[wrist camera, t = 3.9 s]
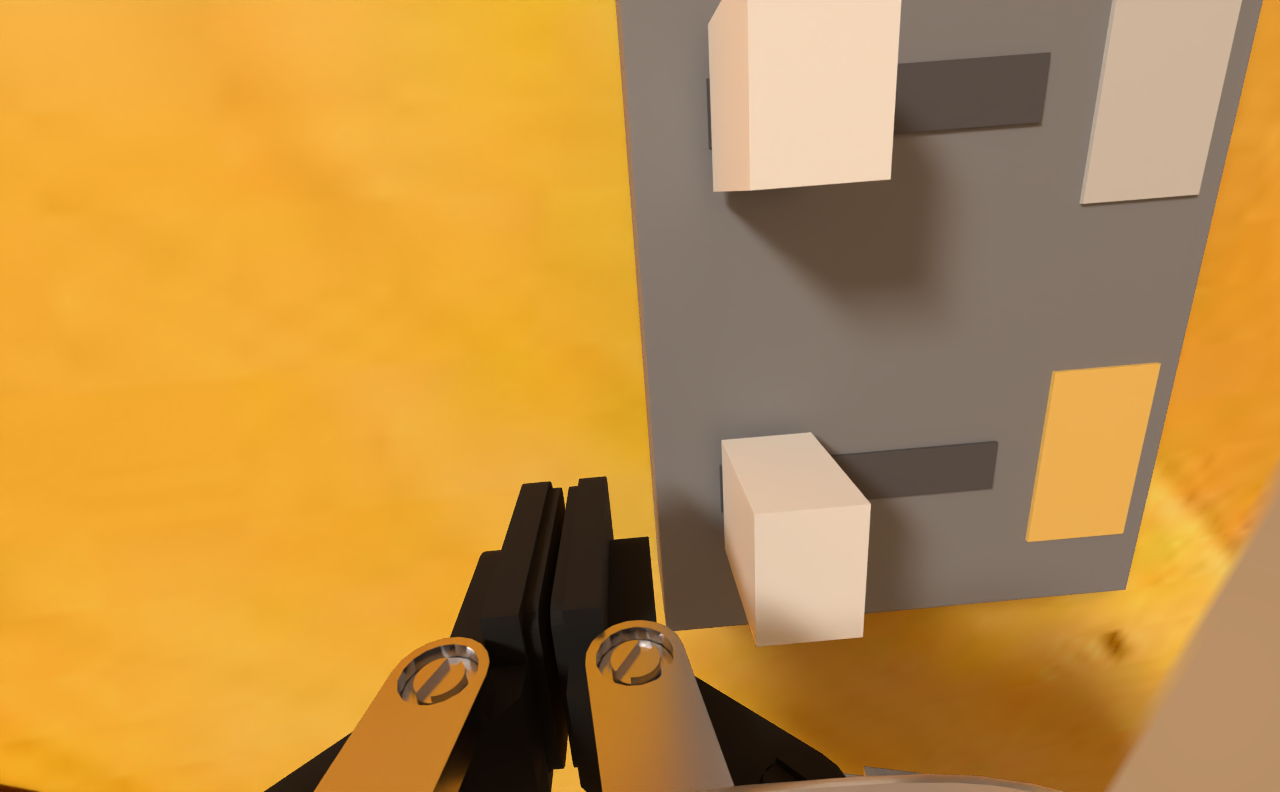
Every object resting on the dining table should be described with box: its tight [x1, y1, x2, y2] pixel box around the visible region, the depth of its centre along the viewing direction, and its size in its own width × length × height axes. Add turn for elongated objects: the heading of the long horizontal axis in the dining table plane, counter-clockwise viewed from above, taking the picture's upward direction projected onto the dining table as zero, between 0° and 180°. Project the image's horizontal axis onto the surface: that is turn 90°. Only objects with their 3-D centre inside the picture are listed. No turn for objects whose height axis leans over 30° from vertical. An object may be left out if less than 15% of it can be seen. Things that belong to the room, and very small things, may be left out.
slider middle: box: [708, 0, 901, 192], centre depth 9 cm, size 3×2×3 cm
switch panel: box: [616, 0, 1263, 631], centre depth 13 cm, size 24×12×3 cm, turn 4°
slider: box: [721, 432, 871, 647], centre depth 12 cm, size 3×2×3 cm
